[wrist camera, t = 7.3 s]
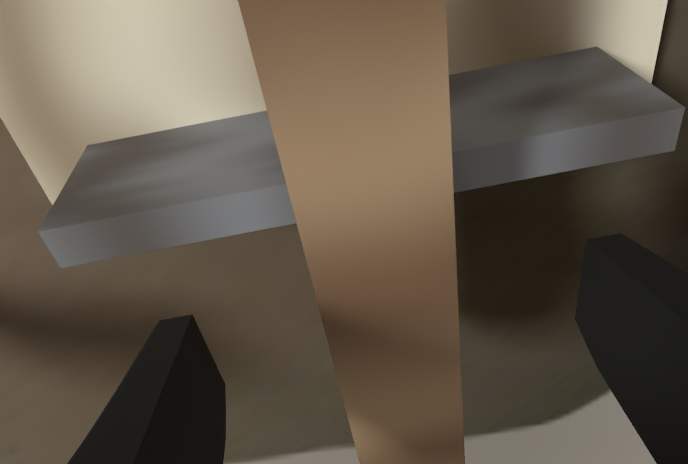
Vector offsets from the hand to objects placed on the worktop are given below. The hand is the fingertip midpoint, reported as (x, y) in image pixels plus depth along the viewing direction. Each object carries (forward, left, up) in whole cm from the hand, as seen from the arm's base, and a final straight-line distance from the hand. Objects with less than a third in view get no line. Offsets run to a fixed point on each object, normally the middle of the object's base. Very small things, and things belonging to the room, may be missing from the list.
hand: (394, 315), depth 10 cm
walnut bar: (0, 0, -4) cm, 4 cm away
